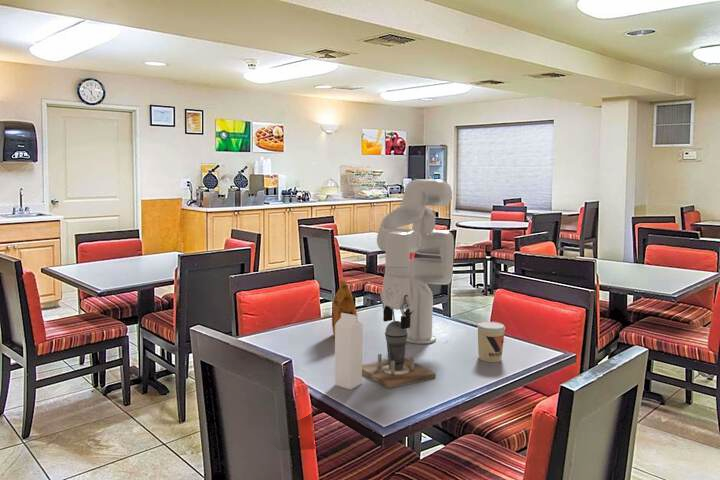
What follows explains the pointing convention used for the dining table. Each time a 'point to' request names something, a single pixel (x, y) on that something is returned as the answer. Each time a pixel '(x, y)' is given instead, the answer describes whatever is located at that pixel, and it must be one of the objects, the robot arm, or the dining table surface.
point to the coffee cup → (490, 341)
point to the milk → (348, 351)
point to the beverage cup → (396, 343)
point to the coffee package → (342, 304)
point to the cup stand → (396, 372)
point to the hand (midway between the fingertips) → (396, 324)
